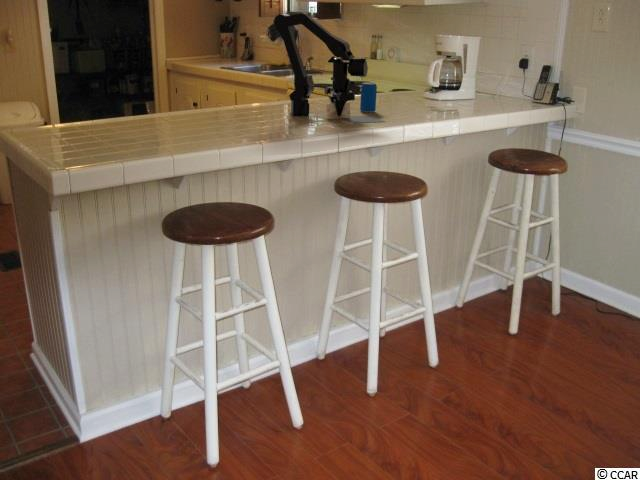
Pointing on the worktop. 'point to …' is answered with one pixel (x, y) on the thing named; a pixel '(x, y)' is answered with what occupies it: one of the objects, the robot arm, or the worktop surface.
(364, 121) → the mat
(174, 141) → the worktop surface
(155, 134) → the worktop surface
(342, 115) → the rectangular block
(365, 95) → the beverage can
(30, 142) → the worktop surface
